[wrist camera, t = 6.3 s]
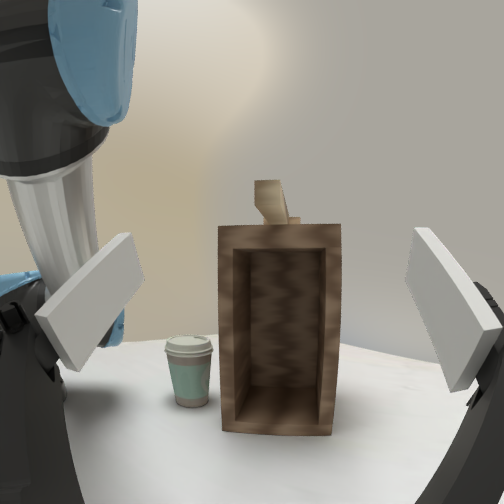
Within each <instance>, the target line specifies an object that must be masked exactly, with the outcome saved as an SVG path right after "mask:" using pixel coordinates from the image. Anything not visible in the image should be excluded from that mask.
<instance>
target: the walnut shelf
mask: <svg viewBox="0 0 504 504" xmlns="http://www.w3.org/2000/svg"><path fill="white" fill-rule="evenodd" d="M341 259H342V255H341V224H278V225H235V226H218V325H219V364H220V392H221V415H222V431H230V432H240V433H251V434H265V435H288V436H325V435H331V432H332V424H333V415H334V406H335V397H336V386H337V374H338V361H339V345H340V324H341V286H342V268H341V267H342V263H341V262H342V260H341Z"/></svg>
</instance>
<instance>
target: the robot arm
mask: <svg viewBox="0 0 504 504" xmlns="http://www.w3.org/2000/svg"><path fill="white" fill-rule="evenodd" d="M137 15H138V1H137V0H0V177H1V178H4V179H6V180H7V184H8V187H9V191H10V194H11V198H12V201H13V204H14V207H15V210H16V213H17V216H18V219H19V222H20V225H21V228H22V231H23V233H24V236H25V238H26V241H27V244H28V246H29V248H30V251H31V253H32V256H33V258H34V261H35V263H36V265H37V267H38V271H29V272H21V273H13V274H6V275H0V504H85V503H84V500H83V497H82V493H81V490H80V486H79V483H78V479H77V475H76V472H75V468H74V463H73V459H72V455H71V450H70V445H69V440H68V435H67V429H66V423H65V416H64V409H63V401H64V400H65V398H66V395H67V394H66V389H65V384H64V381H63V379H62V378H61V376H60V370H59V367H58V365H57V364H56V362H57V361H58V359H59V358H60V360H61V361H62V363H63V364H64V366H65V367H66V368H67V369H70V370H73V371H76V372H80V370H81V369H82V367H83V366H84V364H85V363H86V361H87V360H88V358H89V357H90V355H91V354H92V353H93V351H94V350H95V348H96V347H101V348H106V347H111V346H118V345H119V344H120V343H121V342H122V340H123V333H124V325H123V323H124V307H125V306H126V304H127V303H128V302H129V300H130V299H131V298H132V296H133V295H134V294H135V292H136V291H137V290H138V288H139V287H140V286H141V284H142V283H143V282H144V281H145V279H144V276H143V272H142V269H141V265H140V262H139V258H138V255H137V251H136V248H135V244H134V241H133V237H132V233H119V234H118V235H117V236H115V237H114V238H113V239H112V240H111V241H110V242H109V243H108V244H107V245H105V246H104V247H103V248H102V249H101V250H100V251H99V248H98V240H97V231H96V221H95V210H94V197H93V176H92V154H93V153H95V152H96V151H97V150H98V149H99V148H100V147H101V145H102V144H103V143H104V141H105V140H106V138H107V136H108V133H109V126H111V125H113V124H116V123H119V122H121V121H122V120H123V119H124V118H125V116H126V114H127V111H128V108H129V102H130V96H131V89H132V76H133V66H134V60H135V48H136V33H137ZM405 282H406V284H407V286H408V288H409V291H410V293H411V295H412V297H413V299H414V301H415V304H416V306H417V308H418V310H419V312H420V315H421V317H422V319H423V322H424V324H425V326H426V329H427V331H428V333H429V336H430V338H431V341H432V343H433V346H434V348H435V351H436V354H437V357H438V359H439V362H440V365H441V367H442V370H443V373H444V376H445V379H446V382H447V385H448V388H449V391H450V393H452V392H457V391H461V390H466V389H469V387H470V385H471V384H472V382H473V381H474V379H475V378H476V379H477V382H478V384H479V387H478V388H477V390H476V391H475V393H474V394H473V395H472V397H471V398H470V400H469V401H468V403H467V404H466V406H469V408H468V410H467V412H466V415H465V417H464V419H463V421H462V424H461V426H460V428H459V430H458V432H457V434H456V436H455V438H454V440H453V442H452V444H451V446H450V448H449V449H448V451H447V453H446V455H445V457H444V459H443V460H442V462H441V464H440V466H439V467H438V469H437V471H436V472H435V474H434V476H433V477H432V479H431V480H430V482H429V483H428V485H427V487H426V488H425V490H424V491H423V493H422V494H421V495H420V497H419V498H418V500H417V501H416V503H415V504H498V502H499V500H500V498H501V496H502V493H503V491H504V313H503V312H502V310H501V309H500V308H499V307H498V304H497V303H496V302H495V300H493V297H492V296H491V295H490V294H489V292H488V290H487V289H486V288H484V287H483V286H482V285H480V284H479V283H478V282H472V281H471V279H470V278H469V277H468V275H467V274H466V273H465V271H464V270H463V269H462V267H461V266H460V265H459V264H458V262H457V261H456V260H455V259H454V257H453V256H452V255H451V253H450V252H449V251H448V250H447V249H446V247H445V246H444V245H443V244H442V243H441V241H440V240H439V239H438V238H437V237H436V236H435V234H434V233H433V232H432V231H431V230H430V229H429V228H421V227H416V228H415V227H414V230H413V237H412V244H411V250H410V256H409V261H408V267H407V272H406V277H405ZM469 404H470V405H469Z"/></svg>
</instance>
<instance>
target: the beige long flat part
mask: <svg viewBox="0 0 504 504" xmlns="http://www.w3.org/2000/svg"><path fill="white" fill-rule="evenodd" d="M255 206H256V208H257V209H258V210H259V211H260V212H261V214H262V215H263V216H264V225H278V224H300V217H289V214H288V210H287V206H286V202H285V198H284V194H283V190H282V186H281V182H280V180H261V181H260V180H257V181H255Z"/></svg>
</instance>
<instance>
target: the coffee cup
mask: <svg viewBox="0 0 504 504" xmlns="http://www.w3.org/2000/svg"><path fill="white" fill-rule="evenodd" d="M165 352H166V353H167V359H168V364H169V369H170V374H171V379H172V384H173V388H174V393H175V397H176V402H177V403H178V404H179V405H181V406H184V407H199V406H203V405H205V404H206V403H207V402H208V392H209V379H210V366H211V354H212V352H213V346H212V344H211V342H210V339H209V338H208V337H205V336H200V335H177V336H173V337H170V338H168V339H167V343H166V345H165Z"/></svg>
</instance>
